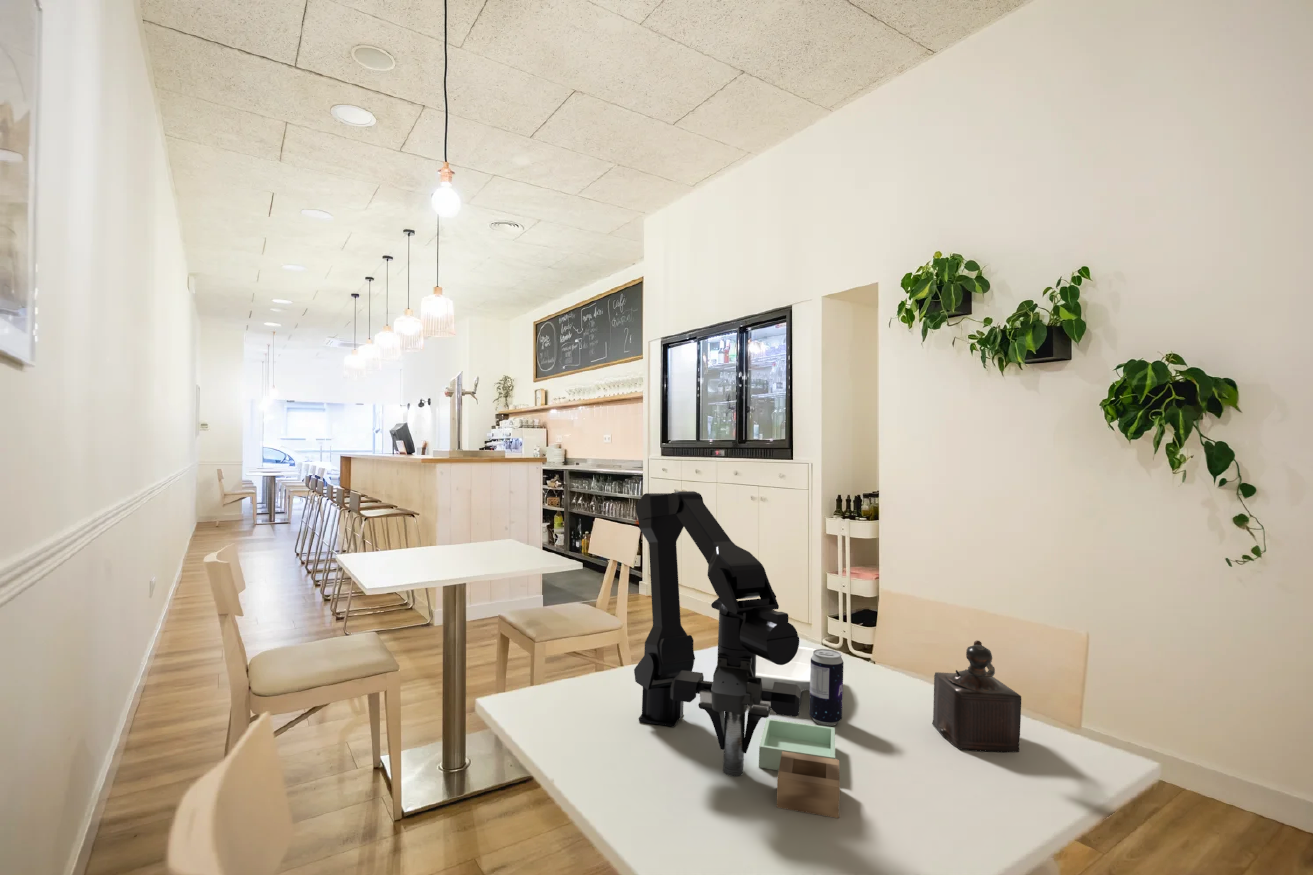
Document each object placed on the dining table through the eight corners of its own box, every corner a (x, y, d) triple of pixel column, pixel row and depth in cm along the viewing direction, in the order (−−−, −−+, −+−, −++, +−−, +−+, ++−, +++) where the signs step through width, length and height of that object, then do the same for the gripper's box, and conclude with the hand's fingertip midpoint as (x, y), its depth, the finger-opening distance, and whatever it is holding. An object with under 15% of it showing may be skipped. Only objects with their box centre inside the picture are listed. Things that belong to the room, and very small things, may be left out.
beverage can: (843, 729, 113) (845, 659, 113) (809, 725, 114) (811, 656, 114) (840, 716, 118) (842, 649, 119) (808, 712, 120) (810, 646, 120)
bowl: (833, 716, 118) (834, 685, 118) (707, 698, 125) (708, 668, 125) (835, 677, 140) (836, 650, 140) (728, 663, 146) (728, 638, 146)
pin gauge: (721, 774, 95) (723, 705, 96) (724, 764, 98) (726, 698, 98) (741, 777, 95) (744, 708, 95) (744, 768, 97) (746, 700, 98)
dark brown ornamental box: (927, 723, 116) (929, 622, 117) (989, 726, 116) (991, 624, 117) (969, 765, 101) (972, 648, 101) (1040, 768, 101) (1042, 651, 101)
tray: (758, 767, 98) (759, 746, 98) (765, 736, 109) (766, 718, 109) (834, 779, 95) (835, 757, 95) (834, 746, 106) (834, 727, 106)
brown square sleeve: (776, 807, 87) (777, 777, 87) (781, 778, 95) (781, 751, 95) (838, 818, 85) (839, 787, 85) (838, 788, 92) (839, 759, 93)
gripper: (663, 652, 91) (659, 765, 91) (798, 669, 87) (795, 787, 86) (680, 632, 102) (677, 732, 102) (802, 645, 97) (799, 751, 97)
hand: (733, 750), depth 96 cm, fingers closed on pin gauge, 3 cm apart
